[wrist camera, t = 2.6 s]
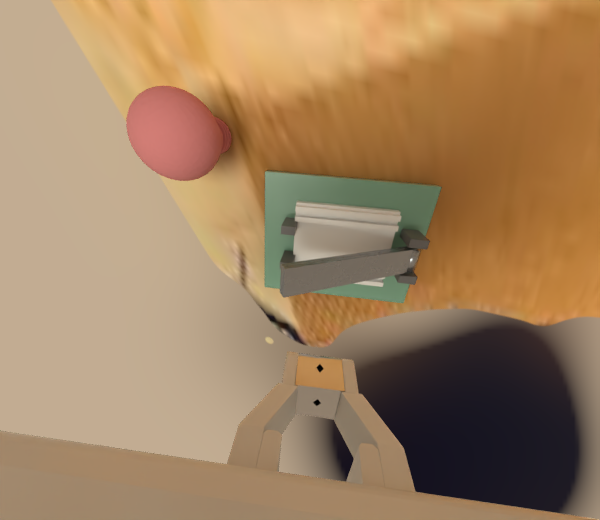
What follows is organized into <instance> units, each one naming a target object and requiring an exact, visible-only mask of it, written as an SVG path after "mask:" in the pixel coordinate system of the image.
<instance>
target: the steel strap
mask: <svg viewBox="0 0 600 520" xmlns="http://www.w3.org/2000/svg"><path fill="white" fill-rule="evenodd" d="M420 252H421V249H418V248H409V247H408V246H405V247H397V248H390V249H383V250H376V251H369V252H362V253H355V254H348V255H340V256H333V257H326V258H319V259H312V260H305V261H298V262H291V263H283V264H281V277H280V293H281V294H282V296H283V297H289V296H294V295H299V294H304V293H309V292H314V291H318V290H323V289H328V288H333V287H338V286H343V285H348V284H353V283H358V282H363V281H368V280H373V279H378V278H383V277H388V276H393V275H398V274H403V273H413V272H414V270H415V267H416V264H417V261H418V258H419V255H420Z"/></svg>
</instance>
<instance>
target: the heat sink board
mask: <svg viewBox="0 0 600 520" xmlns="http://www.w3.org/2000/svg"><path fill="white" fill-rule="evenodd" d="M441 188H442V187H440V186H438V185H432V184H421V183H409V182H398V181H386V180H375V179H363V178H352V177H340V176H329V175H318V174H306V173H295V172H283V171H272V170H267V171H265V287H270V288H279V289H280V277H281V264H283V263H291V262H298V261H305V260H312V259H319V258H326V257H333V256H340V255H348V254H355V253H362V252H369V251H376V250H383V249H390V248H397V247H405V246H408V247H409V248H418V249H427V248H428V245H429V242H430V241H429V240H428V239H427V238H426V237H425V236H426V233H427V230H428V227H429V224H430V221H431V218H432V215H433V212H434V209H435V206H436V203H437V200H438V197H439V194H440V191H441ZM416 280H417V276H416V275H415V273H414V272H413V273H403V274H398V275H393V276H388V277H383V278H378V279H373V280H368V281H363V282H358V283H353V284H348V285H343V286H338V287H333V288H328V289H323V290H318V291H314V292H313V293H321V294H330V295H338V296H347V297H355V298H363V299H372V300H380V301H389V302H397V303H404V300H405V297H406V294H407V291H408V288H409V285H410V284H414V285H415V283H416Z"/></svg>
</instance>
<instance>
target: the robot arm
mask: <svg viewBox="0 0 600 520" xmlns="http://www.w3.org/2000/svg"><path fill="white" fill-rule="evenodd" d="M297 361H298V362H297ZM295 414H299V415H308V416H316V417H322V418H328V419H334V420H335V423H336V425H337V426H338V429H339V430H340V432H341V434H342V436H343V438H344V440H345V442H346V444H347V446H348V448H349V450H350V452H351V454H352V456H353V457H354V461H353V464H352V467H351V470H350V472H349V475H348V478H347V482H344V481H337V480H331V479H324V478H317V477H310V476H303V475H297V474H290V473H283V472H279V461H280V451H281V440H282V434H283V432H284V430H285V429H286V428H287V426H288V425H289V423H290V422H291V420H292V419H293V418H294V416H295ZM0 520H600V519H595V518H587V517H581V516H574V515H567V514H560V513H554V512H546V511H540V510H533V509H526V508H520V507H513V506H506V505H499V504H493V503H486V502H478V501H472V500H465V499H458V498H451V497H445V496H438V495H432V494H425V493H418V492H415V489H414V485H413V481H412V477H411V474H410V470H409V466H408V463H407V459H406V455H405V452H404V449H403V447H402V446H401V444H400V443H399V442H398V440H397V439H396V438H395V436H394V435H393V434H392V432H391V431H390V430H389V429H388V427H387V426H386V425H385V423H384V422H383V421H382V419H381V418H380V417H379V416H378V414H377V413H376V412H375V411H374V410H373V408H372V407H371V406H370V404H369V403H368V401H367V400H366V399H365V398H364V396H363V395H362V394H358V387H357V380H356V374H355V367H354V362H353V360H349V359H341V358H333V357H324V356H314V355H308V354H302V353H299V354H298V353H294V352H287V355H286V361H285V367H284V372H283V378H282V383H278V384H277V385H276V386H275V387H274V388H273V389H272V390H271V391H270V392H269V393H268V394H267V396H266V397H265V398H264V399H263V400H262V401H261V402H260V403H259V404H258V405H257V406H256V407H255V408H254V409H253V410H252V411H251V412H250V413H249V414H248V416H246V418H245V419H244V420H243V421H242V422H241V423H240V424H239V426H238V430H237V433H236V436H235V439H234V442H233V446H232V449H231V452H230V456H229V459H228V462H227V464H221V463H215V462H209V461H202V460H195V459H187V458H181V457H174V456H168V455H161V454H154V453H148V452H141V451H133V450H127V449H120V448H114V447H107V446H99V445H93V444H86V443H80V442H73V441H66V440H59V439H53V438H46V437H39V436H33V435H26V434H19V433H12V432H6V431H0Z"/></svg>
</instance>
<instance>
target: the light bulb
mask: <svg viewBox="0 0 600 520" xmlns="http://www.w3.org/2000/svg"><path fill="white" fill-rule="evenodd" d="M127 132H128V136H129V140H130V142H131V145H132V147H133V149H134V150H135V152H136V153H137V155H138V156H139V157H140V159H141V160H142V161H143V162H144V163H145V164H146V165H147V166H148V167H150V168H151V169H152V170H153V171H155V172H157V173H158V174H160V175H162V176H165V177H167V178H170V179H174V180H180V181H188V180H194V179H198V178H200V177H202V176H204V175H206V174H207V173H208V172H210V171H211V170H212V169H213V168H214V166H215V165H216V163H217V161H218V159H219V156H220V154H222V153H224V152H226V151H227V150H228V149H229V147H230V145H231V134H230V131H229V128H228V127H227V125H226V124H225V123H224V122H223V121H222V120H220V119H218V118H216V117H214V116H213V115H212V113H211V112H210V110H209V109H208V108H207V107H206V106H205V105H204V104H203V103H202V102H201V101H200V100H199V99H198V98H197V97H195V96H194V95H192V94H191V93H189V92H187V91H185V90H182V89H179V88H176V87H171V86H157V87H152V88H149V89H147V90H145V91H143V92H142V93H140V94H139V95H138V96H137V97H136V98H135V99H134V101H133V102H132V104H131V106H130V107H129V111H128V115H127Z"/></svg>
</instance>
